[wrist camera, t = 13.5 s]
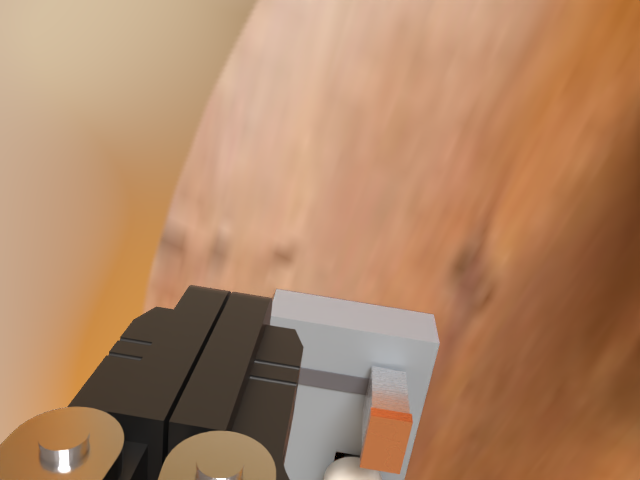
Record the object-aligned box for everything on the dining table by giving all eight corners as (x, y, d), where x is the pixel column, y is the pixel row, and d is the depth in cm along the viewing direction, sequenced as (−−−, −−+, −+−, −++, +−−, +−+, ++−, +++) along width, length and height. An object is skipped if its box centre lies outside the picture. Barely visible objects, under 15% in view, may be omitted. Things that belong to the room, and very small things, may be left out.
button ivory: (385, 435, 45) (387, 494, 39) (376, 476, 47) (376, 538, 41) (330, 426, 45) (325, 483, 39) (323, 467, 47) (316, 528, 41)
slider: (407, 370, 40) (413, 422, 35) (396, 418, 41) (399, 474, 36) (370, 364, 40) (370, 415, 35) (360, 412, 41) (359, 467, 36)
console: (433, 314, 43) (439, 344, 39) (377, 540, 52) (378, 581, 48) (276, 288, 43) (267, 316, 39) (248, 517, 52) (239, 557, 48)
